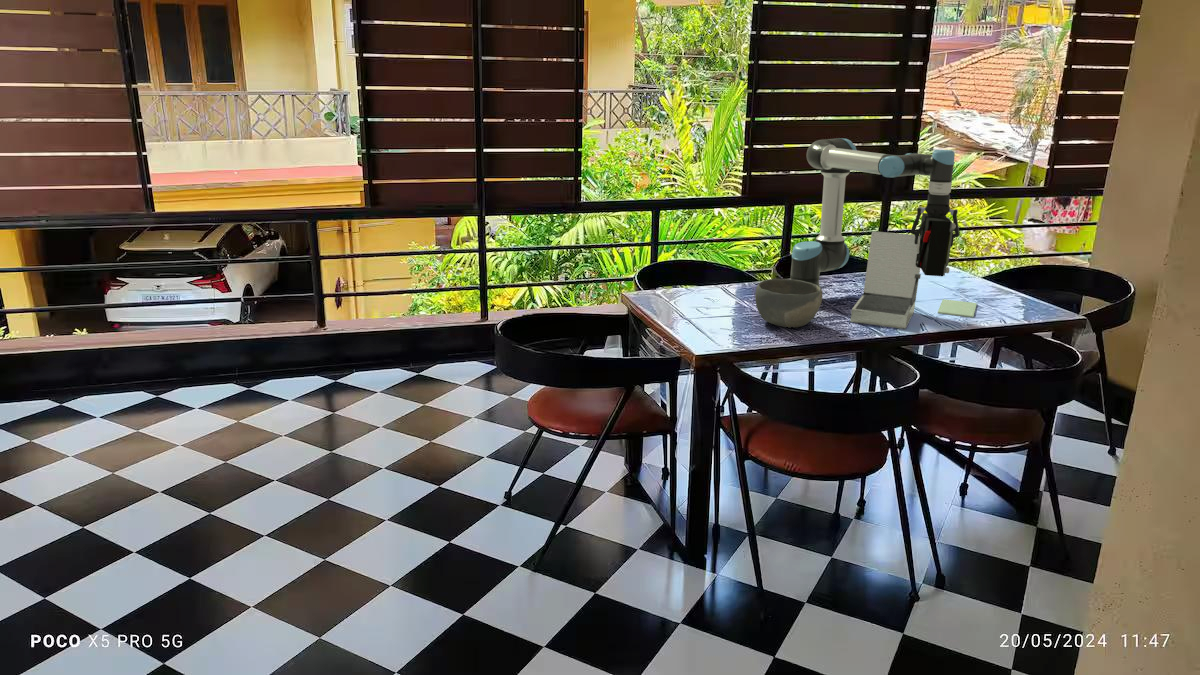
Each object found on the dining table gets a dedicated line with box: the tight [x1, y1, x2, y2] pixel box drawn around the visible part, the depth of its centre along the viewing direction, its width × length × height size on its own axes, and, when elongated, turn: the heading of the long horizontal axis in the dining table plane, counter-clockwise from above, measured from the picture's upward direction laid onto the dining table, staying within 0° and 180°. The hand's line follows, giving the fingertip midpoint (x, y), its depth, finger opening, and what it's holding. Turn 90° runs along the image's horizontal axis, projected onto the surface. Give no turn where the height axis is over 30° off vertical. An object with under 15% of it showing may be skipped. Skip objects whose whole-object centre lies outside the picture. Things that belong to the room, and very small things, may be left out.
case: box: [850, 230, 922, 330], centre depth 325 cm, size 20×31×30 cm, turn 154°
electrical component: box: [916, 212, 956, 277], centre depth 311 cm, size 18×10×20 cm, turn 167°
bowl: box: [754, 278, 823, 329], centre depth 315 cm, size 24×24×15 cm
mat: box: [937, 298, 978, 318], centre depth 339 cm, size 13×21×1 cm, turn 154°
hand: (932, 254), depth 312 cm, fingers open, 9 cm apart
